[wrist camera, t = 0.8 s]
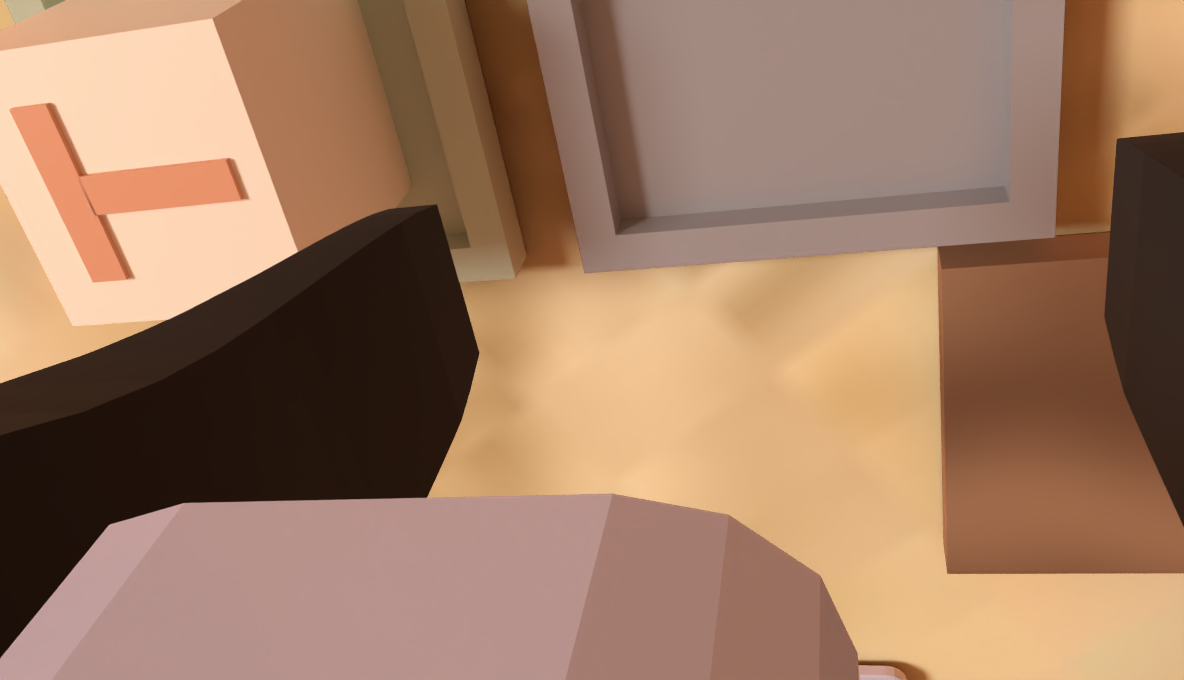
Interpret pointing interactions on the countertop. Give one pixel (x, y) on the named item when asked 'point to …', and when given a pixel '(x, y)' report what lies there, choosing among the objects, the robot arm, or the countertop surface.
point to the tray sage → (435, 127)
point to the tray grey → (801, 125)
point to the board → (1042, 419)
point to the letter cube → (188, 144)
